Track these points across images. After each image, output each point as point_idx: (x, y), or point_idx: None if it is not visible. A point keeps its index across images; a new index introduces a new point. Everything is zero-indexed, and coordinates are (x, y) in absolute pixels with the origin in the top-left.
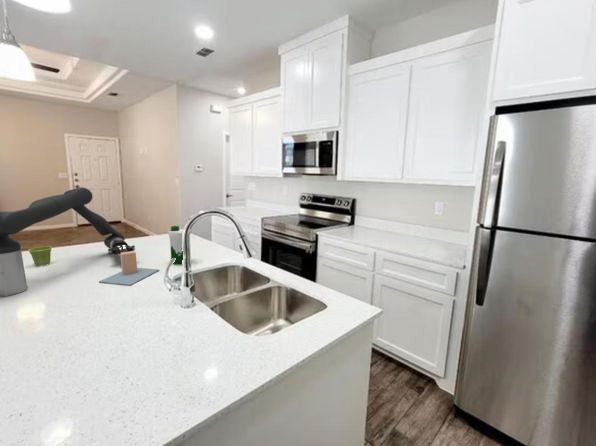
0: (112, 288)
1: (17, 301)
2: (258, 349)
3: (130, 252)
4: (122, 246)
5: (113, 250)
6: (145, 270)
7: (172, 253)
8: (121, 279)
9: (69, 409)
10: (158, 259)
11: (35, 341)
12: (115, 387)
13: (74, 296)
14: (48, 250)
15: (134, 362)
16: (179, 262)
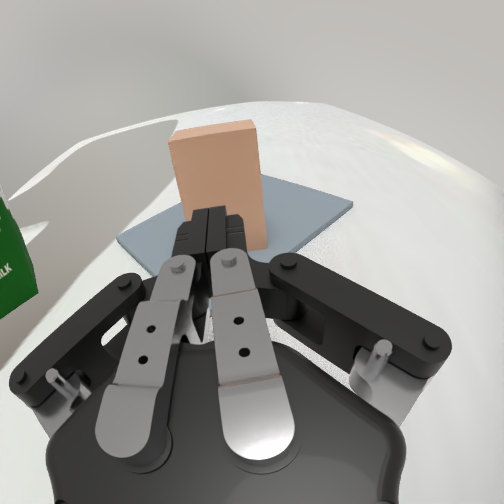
0: (297, 173)
1: (486, 185)
2: (180, 116)
3: (198, 130)
4: (164, 454)
5: (343, 288)
6: (160, 243)
7: (15, 232)
8: (271, 196)
9: (299, 104)
10: (15, 403)
11: (360, 123)
12: (276, 106)
13: (381, 167)
14: None
15: (263, 110)
16: (30, 260)
